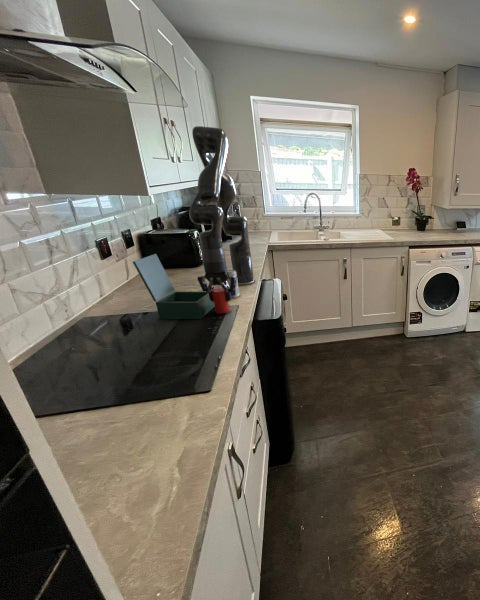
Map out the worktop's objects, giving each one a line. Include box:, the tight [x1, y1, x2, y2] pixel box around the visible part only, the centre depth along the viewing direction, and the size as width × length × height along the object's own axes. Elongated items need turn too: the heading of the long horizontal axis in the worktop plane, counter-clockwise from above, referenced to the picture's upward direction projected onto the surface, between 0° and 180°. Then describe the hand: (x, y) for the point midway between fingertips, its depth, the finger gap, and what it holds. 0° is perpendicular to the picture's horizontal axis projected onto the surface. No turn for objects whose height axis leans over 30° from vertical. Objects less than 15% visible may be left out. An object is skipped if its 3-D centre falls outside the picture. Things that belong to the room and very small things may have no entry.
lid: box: [132, 253, 176, 302], centre depth 122 cm, size 16×13×1 cm
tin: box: [212, 287, 231, 315], centre depth 128 cm, size 5×5×9 cm
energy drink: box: [227, 269, 240, 299], centre depth 145 cm, size 5×5×12 cm
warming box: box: [155, 290, 215, 320], centre depth 127 cm, size 15×13×7 cm
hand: (221, 300), depth 128 cm, fingers closed on tin, 5 cm apart
